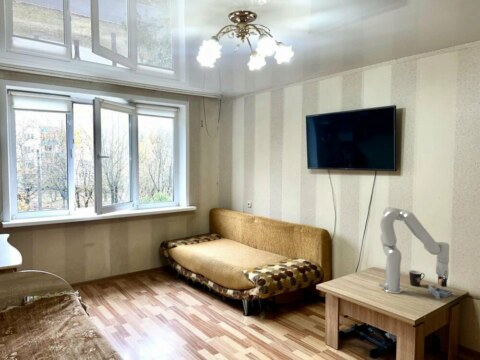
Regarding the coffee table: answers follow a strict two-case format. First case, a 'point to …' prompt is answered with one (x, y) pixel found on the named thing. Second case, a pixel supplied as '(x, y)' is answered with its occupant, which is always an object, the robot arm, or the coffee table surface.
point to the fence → (434, 292)
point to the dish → (443, 292)
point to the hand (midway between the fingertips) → (442, 285)
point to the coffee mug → (415, 277)
